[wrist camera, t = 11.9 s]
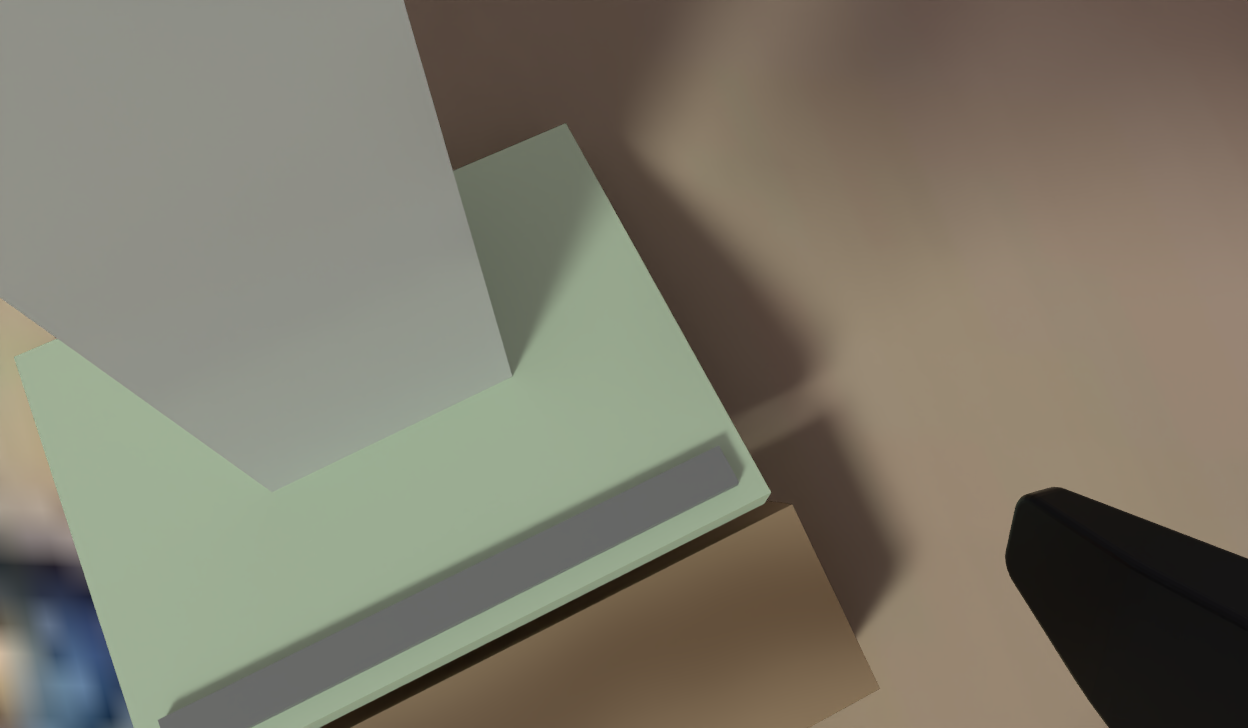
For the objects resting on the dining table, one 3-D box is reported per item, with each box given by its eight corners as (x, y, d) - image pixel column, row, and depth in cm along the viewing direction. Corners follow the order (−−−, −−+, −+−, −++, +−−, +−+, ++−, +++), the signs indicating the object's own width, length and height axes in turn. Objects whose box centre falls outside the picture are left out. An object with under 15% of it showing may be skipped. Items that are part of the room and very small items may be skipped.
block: (512, 376, 20) (356, -163, 8) (271, 492, 20) (-297, 85, 7) (409, 176, 22) (148, -533, 10) (182, 276, 21) (-416, -359, 9)
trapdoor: (764, 503, 21) (773, 489, 19) (180, 797, 19) (151, 801, 18) (568, 147, 23) (565, 116, 22) (40, 373, 21) (6, 352, 20)
